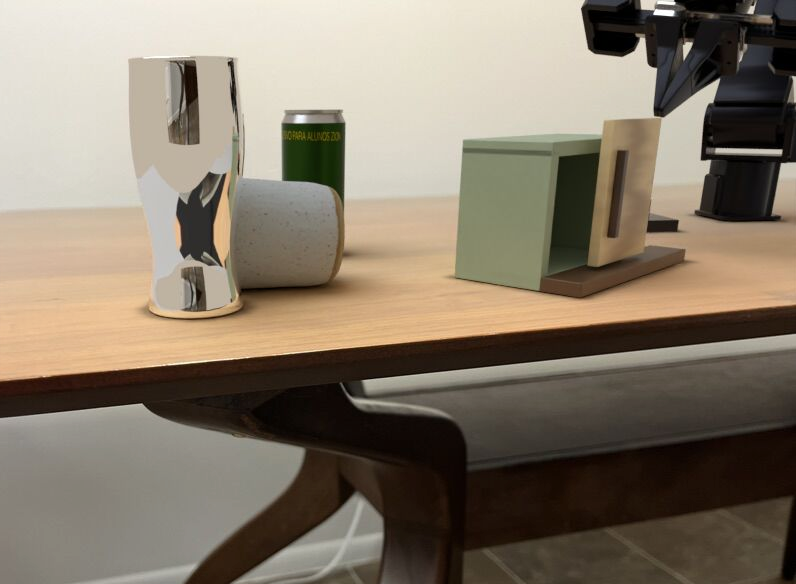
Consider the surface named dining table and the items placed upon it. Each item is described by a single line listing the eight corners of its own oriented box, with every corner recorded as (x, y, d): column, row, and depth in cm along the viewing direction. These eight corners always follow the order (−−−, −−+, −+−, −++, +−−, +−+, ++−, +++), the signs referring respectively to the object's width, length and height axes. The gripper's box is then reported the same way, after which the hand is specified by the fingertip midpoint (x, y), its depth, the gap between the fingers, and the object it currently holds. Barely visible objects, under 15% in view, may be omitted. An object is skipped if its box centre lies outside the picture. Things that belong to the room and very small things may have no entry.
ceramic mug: (349, 293, 56) (351, 178, 54) (231, 299, 54) (227, 181, 52) (314, 268, 66) (314, 170, 64) (213, 272, 64) (210, 172, 62)
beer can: (356, 254, 71) (359, 109, 67) (309, 261, 68) (310, 110, 64) (315, 246, 75) (316, 109, 71) (270, 253, 72) (268, 110, 68)
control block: (642, 222, 89) (646, 194, 88) (677, 231, 82) (681, 201, 81) (553, 224, 88) (556, 195, 87) (581, 233, 81) (585, 203, 80)
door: (633, 251, 64) (651, 118, 61) (651, 253, 63) (670, 118, 60) (587, 265, 58) (603, 119, 55) (605, 268, 58) (623, 120, 54)
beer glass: (229, 323, 49) (218, 54, 44) (123, 317, 50) (101, 58, 46) (263, 297, 55) (257, 59, 50) (168, 293, 57) (153, 63, 52)
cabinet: (569, 247, 74) (582, 132, 70) (684, 261, 67) (703, 134, 64) (454, 277, 61) (462, 139, 58) (580, 298, 55) (597, 142, 51)
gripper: (614, -124, 67) (532, 32, 65) (880, -126, 56) (794, 58, 54) (625, -20, 76) (554, 119, 74) (856, -6, 66) (781, 156, 64)
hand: (658, 113), depth 66 cm, fingers closed
